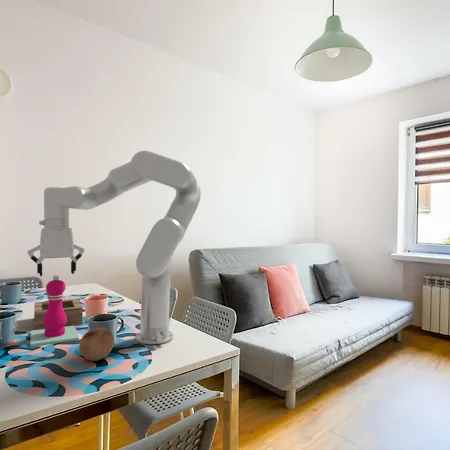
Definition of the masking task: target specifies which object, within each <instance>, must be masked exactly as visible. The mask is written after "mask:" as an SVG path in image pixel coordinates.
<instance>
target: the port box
mask: <svg viewBox="0 0 450 450" xmlns="http://www.w3.org/2000/svg"><path fill="white" fill-rule="evenodd" d="M33 303H34V307H33V309H34V311H33V321H34V322H33V330H42V329H46V327H45V326H44V325H43V320H44V316H45V314H46V312H47V310H48V306H49V300H48V301H38V302H36V301H35V302H33ZM62 306H63V309H64V312H65V314H66V317H67V322H66V324H65V325H64V326H63V327H67V326H79V325H83V313H84V312H83V310H84V309H83V306H82V303H81V302H80V300H79V298H74V299H62Z"/></svg>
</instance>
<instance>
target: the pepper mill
mask: <svg viewBox="0 0 450 450" xmlns="http://www.w3.org/2000/svg"><path fill="white" fill-rule="evenodd" d="M52 278H53V280H50V281H48V282H47V284H46V285H45V291H46V293H47V295H46V296H47V298H46V299H47V300H48V301H49V306H48V310H47V312H46V314H45V316H44V320H43V325H44V326H45V327H46V329H45V334H44V335H45V336H46V337H57V336H61V335H63V334H65V327H66V326H65V327H63V326H64V325H65V324H66V322H67V317H66V314H65V312H64V309H63V306H62V300H64V295H65V294H64V292H65V290H66V283H65V282H64V281H63V280H60V277H59V275H54V276H53V277H52Z"/></svg>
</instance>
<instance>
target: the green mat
mask: <svg viewBox="0 0 450 450" xmlns="http://www.w3.org/2000/svg"><path fill="white" fill-rule="evenodd" d="M44 334H45V329H39V330H34V329H33V330H30V339H29V340H30V341H29V342H30V343H29V344H30V345H29V348H30V347H38V346H45V345H53V344H58V343H59V344H60V343H67V342H73V341H80V337H79V333H78V332H77V328H76V325H73V326H65V334H63V335H61V336H57V337H46V336H45V335H44Z"/></svg>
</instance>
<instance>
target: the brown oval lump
mask: <svg viewBox="0 0 450 450" xmlns="http://www.w3.org/2000/svg"><path fill="white" fill-rule="evenodd" d="M78 346H79V352H80V354H81V355H82V357H83V358H85V359H86V360H88V361H91V362H98V361H99V360H102V359H104V358H105V357H107V356H108V355H109V354H110V353H111V351H112V350H113V348H114V346H115V336H114V335H113V333H112V331H111V330H109V329H108V328H106V327H102V326H101V327H95V328H92V329H89V331H87V332H85V333H84V334H83V335H82V337H81V339H80V340H79V345H78Z"/></svg>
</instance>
